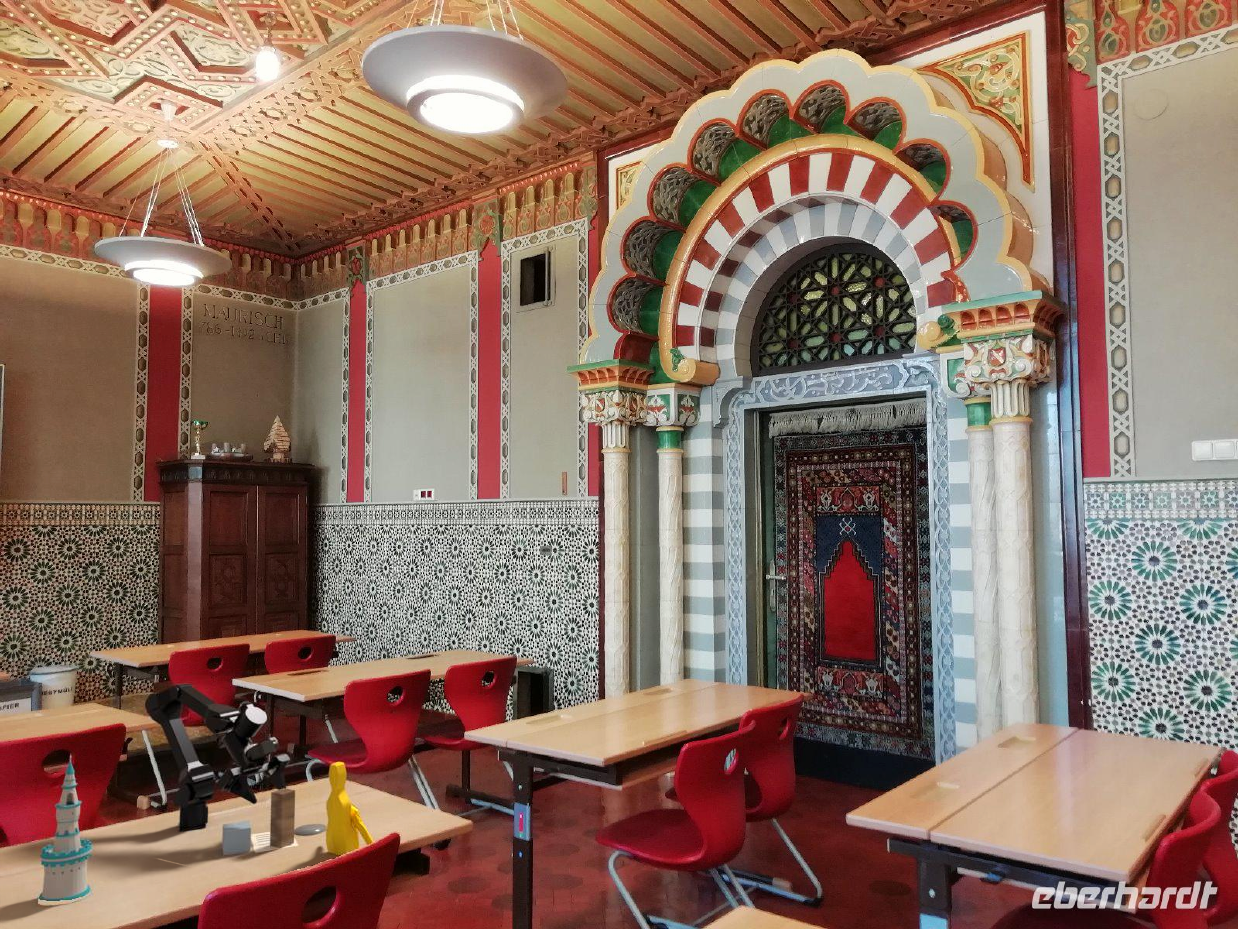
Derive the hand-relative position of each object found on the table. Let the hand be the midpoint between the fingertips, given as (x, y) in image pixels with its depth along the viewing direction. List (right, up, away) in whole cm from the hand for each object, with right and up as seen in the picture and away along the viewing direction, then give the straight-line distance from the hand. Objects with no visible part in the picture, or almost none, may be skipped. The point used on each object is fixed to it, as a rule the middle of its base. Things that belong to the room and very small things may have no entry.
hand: (270, 798), depth 224 cm
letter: (+1, -11, 0) cm, 11 cm away
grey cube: (-6, -11, -6) cm, 14 cm away
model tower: (-31, -9, -34) cm, 47 cm away
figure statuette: (+21, -10, -9) cm, 25 cm away
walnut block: (+4, -11, -3) cm, 12 cm away
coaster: (+7, -12, +8) cm, 16 cm away
